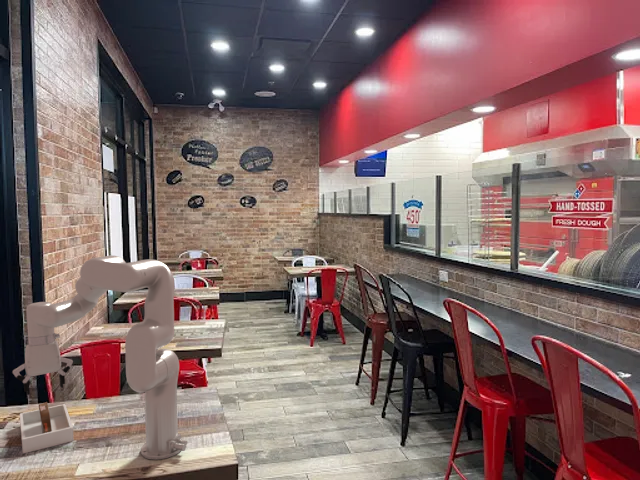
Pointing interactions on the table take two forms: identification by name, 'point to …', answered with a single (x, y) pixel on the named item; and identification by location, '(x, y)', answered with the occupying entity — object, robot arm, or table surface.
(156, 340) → the robot arm
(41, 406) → the tin
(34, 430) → the tote
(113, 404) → the table surface
